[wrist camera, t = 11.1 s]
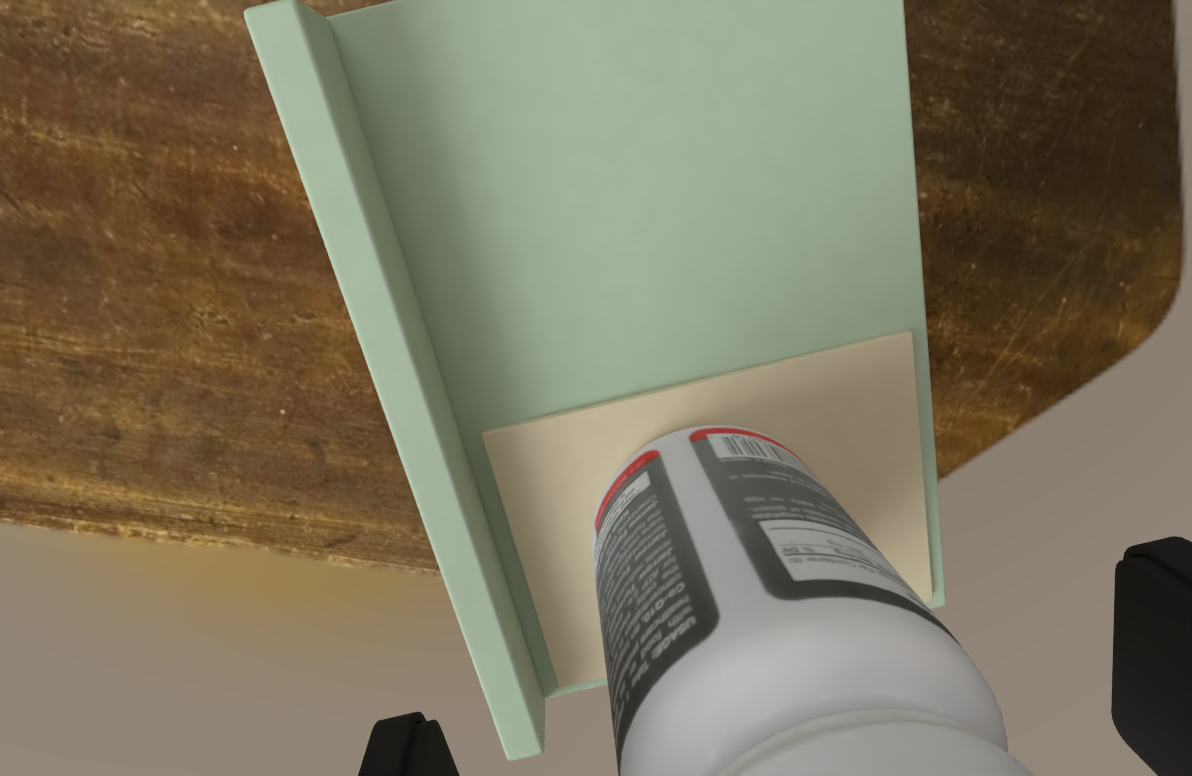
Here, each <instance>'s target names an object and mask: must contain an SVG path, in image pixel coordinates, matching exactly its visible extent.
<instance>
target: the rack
mask: <svg viewBox="0 0 1192 776" xmlns="http://www.w3.org/2000/svg"><path fill="white" fill-rule="evenodd" d="M244 18H245V21H246V24H247V27H248V29H249V32H250V35H251V38H252V41H253V44H254V46H255V49H256V52H257V55H258V58H259V60H260V63H261V66H262V69H263V72H264V75H265V77H266V80H267V83H268V86H269V89H270V91H271V94H272V97H273V100H274V103H275V106H276V108H277V111H278V114H279V117H280V120H281V122H282V125H283V128H284V131H285V134H286V137H287V139H288V142H289V145H290V148H291V151H292V153H293V156H294V159H295V162H296V165H297V168H298V170H299V173H300V176H301V179H302V182H303V185H304V187H305V190H306V193H307V196H308V199H309V201H310V204H311V207H312V210H313V213H314V216H315V218H316V221H317V224H318V227H319V230H320V232H321V235H322V238H323V241H324V244H325V247H326V249H327V252H328V255H329V258H330V261H331V263H332V266H333V269H334V272H335V275H336V278H337V280H338V283H339V286H340V289H341V292H342V294H343V297H344V300H345V303H346V306H347V309H348V311H349V314H350V317H351V320H352V323H353V325H354V328H355V331H356V334H357V337H358V340H359V342H360V345H361V348H362V351H363V354H364V357H365V359H366V362H367V365H368V368H369V371H370V373H371V376H372V379H373V382H374V385H375V388H376V390H377V393H378V396H379V399H380V402H381V404H382V407H383V410H384V413H385V416H386V419H387V421H388V424H389V427H390V430H391V433H392V435H393V438H394V441H395V444H396V447H397V450H398V452H399V455H400V458H401V461H402V464H403V466H404V469H405V472H406V475H407V478H408V481H409V483H410V486H411V489H412V492H413V495H414V497H415V500H416V503H417V506H418V509H419V512H420V514H421V517H422V520H423V523H424V526H425V528H426V531H427V534H428V537H429V540H430V543H431V545H432V548H433V551H434V554H435V557H436V560H437V562H438V565H439V568H440V571H441V574H442V576H443V579H444V582H445V585H446V588H447V591H448V593H449V596H450V599H451V602H452V605H453V607H454V610H455V613H456V616H457V619H458V622H459V624H460V627H461V630H462V633H463V635H464V638H465V641H466V644H467V647H468V650H469V652H470V655H471V658H472V661H473V664H474V666H475V669H476V672H477V675H478V678H479V681H480V684H481V686H482V689H483V692H484V695H485V698H486V700H487V703H488V706H489V709H490V711H491V715H492V717H493V720H494V723H495V726H496V729H497V732H498V734H499V737H500V740H501V743H502V746H503V748H504V751H505V754H506V757H507V759H508V760H516V759H520V758H524V757H529V756H533V755H538V754H541V753H543V751H544V726H545V724H544V723H545V699H546V698H550V697H554V696H559V695H563V694H568V693H572V692H576V691H580V690H585V689H589V688H593V687H598V686H602V685H606V684H608V680H607V673H606V665H605V657H604V649H603V640H602V633H601V625H600V615H599V608H598V599H597V592H596V582H595V574H594V566H593V554H592V529H593V521H594V516H595V512H596V509H597V506H598V503H599V500H600V498H601V496H602V494H603V492H604V490H605V488H606V486H607V485H608V483H609V481H610V480H611V479H612V477H613V476H614V475H615V473H616V472H617V471H618V470H619V468H620V467H621V466H622V465H623V464H624V463H625V462H626V461H627V460H628V459H629V458H630V457H631V456H632V455H634V454H635V453H636V452H638V451H639V450H640V449H642V448H643V447H645V446H646V445H648V444H650V443H651V442H653V441H655V440H657V439H659V438H661V437H663V436H665V435H668V434H671V433H673V432H676V431H680V430H684V429H688V428H693V427H699V426H706V425H731V426H739V427H743V428H748V429H752V430H755V431H757V432H760V433H763V434H765V435H767V436H769V437H771V438H773V439H775V440H777V441H778V442H780V443H781V444H783V445H784V446H786V447H787V448H788V449H790V450H791V451H792V452H793V453H794V454H795V455H797V456H798V457H799V458H800V459H801V460H802V461H803V462H804V463H805V464H806V465H807V466H808V468H809V469H810V470H811V471H812V472H813V474H814V475H815V476H816V477H817V478H818V479H819V481H820V482H821V483H822V484H823V485H824V486H825V488H826V489H827V490H828V491H829V492H830V493H831V495H832V496H833V497H834V498H835V500H836V501H837V502H838V503H839V504H840V505H841V506H842V508H843V509H844V510H845V511H846V512H847V513H848V515H849V516H850V517H851V518H852V519H853V521H854V522H855V523H856V524H857V525H858V526H859V528H860V529H861V530H862V531H863V532H864V533H865V535H866V536H867V537H868V538H869V539H870V541H871V542H872V543H873V544H874V545H875V546H876V548H877V549H878V550H879V551H880V552H881V553H882V555H883V556H884V557H885V558H886V559H887V560H888V562H889V563H890V564H891V565H892V566H893V567H894V569H895V570H896V571H897V572H898V573H899V574H900V575H901V577H902V578H903V579H904V580H905V581H906V582H907V584H908V585H909V586H910V587H911V588H912V590H913V591H914V592H915V593H916V594H917V595H918V596H919V598H920V599H921V600H922V601H923V602H924V604H925V605H926V606H927V607H928V608H929V609H932V608H936V607H940V606H944V605H946V596H945V583H944V568H943V554H942V540H941V525H940V511H939V497H938V483H937V469H936V455H935V440H934V426H933V412H932V398H931V384H930V370H929V355H928V341H927V327H926V313H925V299H924V284H923V270H922V256H921V242H920V228H919V214H918V199H917V185H916V171H915V157H914V143H913V129H912V114H911V100H910V86H909V72H908V58H907V44H906V29H905V15H904V1H903V0H394V1H390V2H386V3H382V4H378V5H374V6H370V7H366V8H362V9H358V10H353V11H349V12H345V13H341V14H337V15H333V16H329V17H324V16H323V15H321V14H320V13H318V12H316V11H315V10H313V9H312V8H310V7H308V6H307V5H305V4H304V3H302V2H300V1H299V0H279V1H275V2H270V3H266V4H262V5H258V6H254V7H250V8H247V9H246V10H245V11H244Z"/></svg>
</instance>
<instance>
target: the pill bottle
mask: <svg viewBox="0 0 1192 776" xmlns="http://www.w3.org/2000/svg"><path fill="white" fill-rule="evenodd" d="M592 554H593V566H594V574H595V582H596V592H597V599H598V608H599V615H600V625H601V633H602V640H603V649H604V657H605V665H606V673H607V680H608V687H609V696H610V703H611V712H612V721H613V730H614V738H615V746H616V755H617V764H618V774H619V776H1033V775H1032V773H1031V772H1030V771H1029V770H1028V769H1027V768H1026V767H1025V766H1024V765H1023V764H1022V763H1021V762H1020V761H1019V760H1017V759H1016V758H1014V757H1013V756H1012V755H1010V754H1009V753H1008V745H1007V736H1006V732H1005V728H1004V723H1003V719H1002V714H1001V711H1000V709H999V706H998V704H997V701H996V699H995V696H994V694H993V692H992V690H991V688H990V686H989V685H988V683H987V682H986V680H985V678H984V677H983V675H982V673H981V672H980V670H979V669H978V668H977V666H976V665H975V664H974V662H973V661H972V660H971V658H970V657H969V655H968V654H967V652H966V651H965V650H964V649H963V648H962V647H961V645H960V644H959V643H958V641H957V640H956V639H955V638H954V637H953V635H952V634H951V633H950V632H949V631H948V629H946V627H945V626H944V625H943V624H942V623H941V622H940V621H939V620H938V619H937V618H936V616H935V615H934V614H933V613H932V612H931V611H930V609H929V608H928V607H927V606H926V605H925V604H924V602H923V601H922V600H921V599H920V598H919V596H918V595H917V594H916V593H915V592H914V591H913V590H912V588H911V587H910V586H909V585H908V584H907V582H906V581H905V580H904V579H903V578H902V577H901V575H900V574H899V573H898V572H897V571H896V570H895V569H894V567H893V566H892V565H891V564H890V563H889V562H888V560H887V559H886V558H885V557H884V556H883V555H882V553H881V552H880V551H879V550H878V549H877V548H876V546H875V545H874V544H873V543H872V542H871V541H870V539H869V538H868V537H867V536H866V535H865V533H864V532H863V531H862V530H861V529H860V528H859V526H858V525H857V524H856V523H855V522H854V521H853V519H852V518H851V517H850V516H849V515H848V513H847V512H846V511H845V510H844V509H843V508H842V506H841V505H840V504H839V503H838V502H837V501H836V500H835V498H834V497H833V496H832V495H831V493H830V492H829V491H828V490H827V489H826V488H825V486H824V485H823V484H822V483H821V482H820V481H819V479H818V478H817V477H816V476H815V475H814V474H813V472H812V471H811V470H810V469H809V468H808V466H807V465H806V464H805V463H804V462H803V461H802V460H801V459H800V458H799V457H798V456H797V455H795V454H794V453H793V452H792V451H791V450H790V449H788V448H787V447H786V446H784V445H783V444H781V443H780V442H778V441H777V440H775V439H773V438H771V437H769V436H767V435H765V434H763V433H760V432H757V431H755V430H752V429H748V428H743V427H739V426H731V425H706V426H699V427H693V428H688V429H684V430H680V431H676V432H673V433H671V434H668V435H665V436H663V437H661V438H659V439H657V440H655V441H653V442H651V443H650V444H648V445H646V446H645V447H643V448H642V449H640V450H639V451H638V452H636V453H635V454H634V455H632V456H631V457H630V458H629V459H628V460H627V461H626V462H625V463H624V464H623V465H622V466H621V467H620V468H619V470H618V471H617V472H616V473H615V475H614V476H613V477H612V479H611V480H610V481H609V483H608V485H607V486H606V488H605V490H604V492H603V494H602V496H601V498H600V500H599V503H598V506H597V509H596V512H595V516H594V521H593V529H592Z"/></svg>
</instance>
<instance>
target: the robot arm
mask: <svg viewBox="0 0 1192 776" xmlns="http://www.w3.org/2000/svg"><path fill="white" fill-rule="evenodd" d="M1111 712H1112V719H1113V722H1114V724H1115V726H1116V729H1117V731H1118V733H1119V734H1120V736H1121V737H1122V739H1123V740H1124V741H1125V742H1126V743H1127V745H1128V746H1129V747H1130V748H1131V749H1132V750H1133V751H1134V752H1135V753H1136V754H1137V755H1138V756H1139V757H1140V758H1141V759H1142V760H1143V761H1144V762H1145V763H1146V764H1147V765H1148V766H1149V767H1150V768H1151V769H1152V770H1153V771H1154V772H1155V773H1156V774H1157V775H1158V776H1192V542H1190V541H1189V540H1186V539H1184V538H1182V537H1174V536H1173V537H1168V538H1164V539H1160V540H1156V541H1152V542H1147V543H1143V544H1138V545H1134V546H1131V547H1129V548H1128V549H1127V550H1126V552H1125V553H1124V557H1123V560H1122V561H1119V562H1118V563H1117V565H1116V570H1115V599H1114V636H1113V673H1112V709H1111ZM358 776H459V773H458V771H457V768H456V765H455V763H454V760H453V758H452V755H451V753H450V750H449V748H448V745H447V742H446V740H445V737H444V735H443V732H442V730H441V727H440V725H439V723H438V722H437V721H436V720H431V721H426V719H425V717H424V715H423V714H422V713H421V712H414V713H410V714H406V715H401V716H397V717H392V718H388V719H384V720H379V721H378V722H377V723H376V724H375V725H374V727H373V730H372V732H371V736H370V739H369V742H368V745H367V749H366V752H365V755H364V758H363V761H362V765H361V768H360V771H359V774H358Z"/></svg>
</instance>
